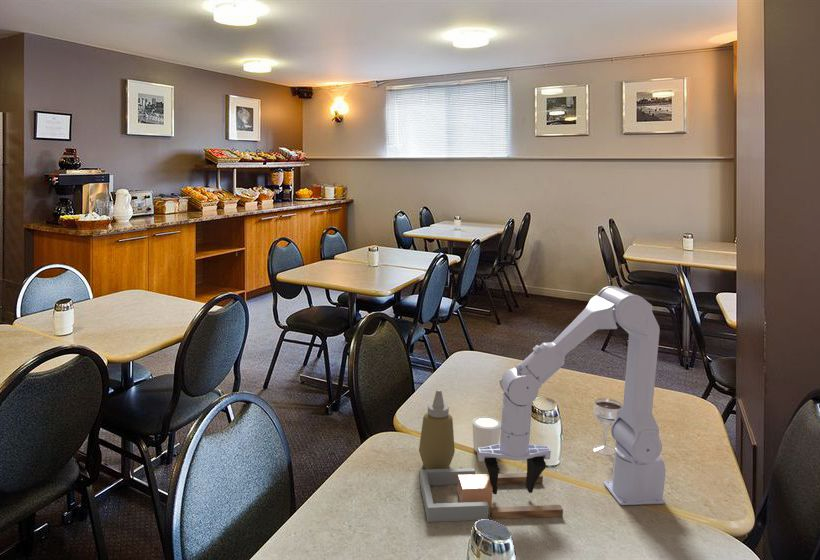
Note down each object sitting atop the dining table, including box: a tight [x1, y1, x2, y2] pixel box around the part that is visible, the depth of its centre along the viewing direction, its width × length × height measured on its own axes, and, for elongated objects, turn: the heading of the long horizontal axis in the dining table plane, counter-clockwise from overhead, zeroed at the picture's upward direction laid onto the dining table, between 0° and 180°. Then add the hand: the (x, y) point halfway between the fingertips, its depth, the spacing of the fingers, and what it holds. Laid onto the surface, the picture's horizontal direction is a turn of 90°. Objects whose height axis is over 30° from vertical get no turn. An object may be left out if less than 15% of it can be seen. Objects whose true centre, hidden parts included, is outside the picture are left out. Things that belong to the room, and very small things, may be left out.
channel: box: [486, 472, 564, 520], centre depth 106 cm, size 14×13×2 cm
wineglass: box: [592, 397, 623, 456], centre depth 125 cm, size 7×7×12 cm
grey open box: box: [419, 467, 489, 523], centre depth 105 cm, size 12×13×3 cm
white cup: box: [471, 415, 501, 453], centre depth 125 cm, size 7×7×7 cm
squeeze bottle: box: [418, 389, 455, 469], centre depth 116 cm, size 8×8×18 cm
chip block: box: [456, 473, 493, 507], centre depth 105 cm, size 6×5×4 cm
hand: (511, 490), depth 106 cm, fingers open, 7 cm apart
